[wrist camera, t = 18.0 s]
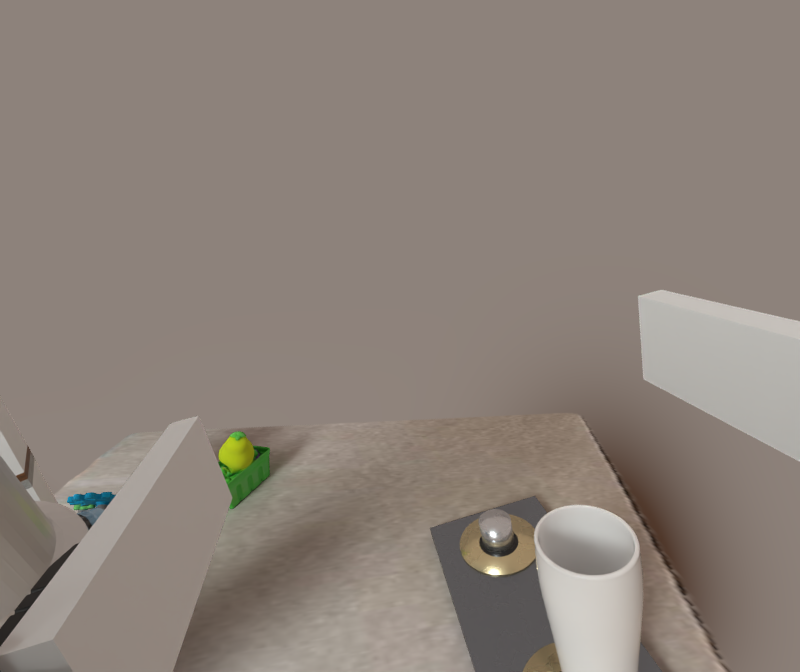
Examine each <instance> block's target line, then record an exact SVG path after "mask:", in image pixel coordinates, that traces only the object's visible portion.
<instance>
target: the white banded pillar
mask: <svg viewBox="0 0 800 672" xmlns="http://www.w3.org/2000/svg"><path fill="white" fill-rule="evenodd" d="M0 456H1V457H2V458H3V460H4V461H5V462H6V464H7V465H8V466H9V468H10V469H11V470H12V472H13V473H14V474H15V476H16V477H17V478H18V480H19V481H20V482H21V484H22V485H23V486H24V488H25V489H26V490H27V492H28V493H29V494H30V496H31V497H32V498H33V500H34V501H45V502H51V503H57V504H58V502H57V501H56V499H55V497H54V495H53V494H52V492H51V490H50V488H49V486H48V485H47V483H46V481H45V479H44V477H43V475H42V474H41V472H40V470H39V465H38V464H37V462H36V460H35V458H34V456H33V454H32V453H31V451H30V449H29V447H28V445H27V444H26V442H25V440H24V438H23V436H22V434H21V433H20V431H19V429H18V427H17V425H16V424H15V422H14V420H13V419H12V416H11V415H10V413H9V411H8V409H7V407H6V406H5V404H4V402H3V400H2V398H1V397H0Z"/></svg>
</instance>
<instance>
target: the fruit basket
mask: <svg viewBox="0 0 800 672" xmlns="http://www.w3.org/2000/svg"><path fill="white" fill-rule="evenodd" d="M269 454H270V448H268V447H261V446H253V445H252V443H251V442H250V441H249V440H248V439H247V438H246V435H245V434H244V433H243V432H240V431H239V432H234V433H232V434H231V435H230V436H229V438H228V439H227V441H226V442H225V443H224V444H223V445H222V447H221V449H220V450H219V461H220V462H218V464H219V466H220V468H221V471H222V473H223V476H224V478H225V481H226V483H227V486H228V488H229V490H230V493H231V495H232V501H231V504H230V507H229V508H230V509H233V508H234V507H235V506H236V505H238V504H239V502H240V501H241V500H243V499H244V498H245V497H246V496H247V495H249V494H250V492H251V491H252V490H254V489H255V488H256V487H257V486H258V485H260V483H261V482H262V481H264V480H265V479H266V478H267V477H268V476H269V475H270V470H269Z"/></svg>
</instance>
